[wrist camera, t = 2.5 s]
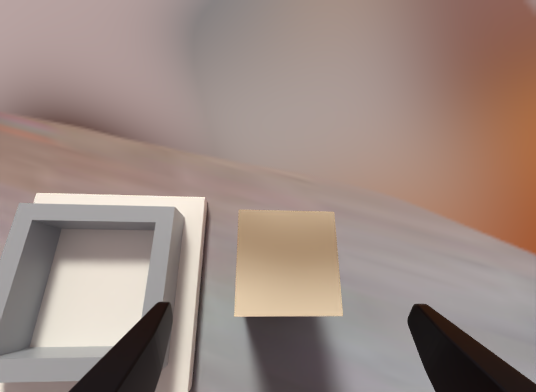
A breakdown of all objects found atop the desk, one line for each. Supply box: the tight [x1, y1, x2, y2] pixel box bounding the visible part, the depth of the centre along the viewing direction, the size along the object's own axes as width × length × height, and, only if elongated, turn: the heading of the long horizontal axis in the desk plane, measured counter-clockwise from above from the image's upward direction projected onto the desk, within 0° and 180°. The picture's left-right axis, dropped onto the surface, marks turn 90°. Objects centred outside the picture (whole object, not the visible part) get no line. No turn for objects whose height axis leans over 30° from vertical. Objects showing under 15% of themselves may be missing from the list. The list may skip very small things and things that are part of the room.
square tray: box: [0, 193, 207, 392], centre depth 16 cm, size 12×12×4 cm
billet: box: [234, 210, 343, 317], centre depth 14 cm, size 4×4×9 cm
